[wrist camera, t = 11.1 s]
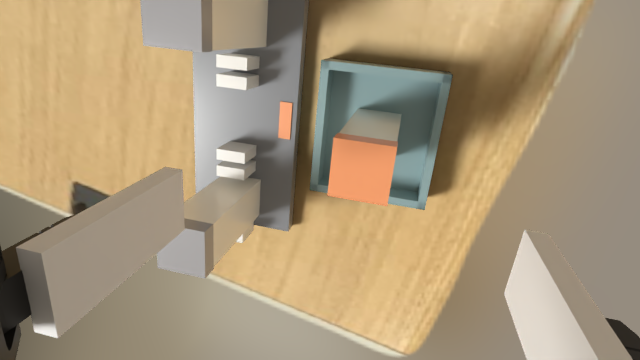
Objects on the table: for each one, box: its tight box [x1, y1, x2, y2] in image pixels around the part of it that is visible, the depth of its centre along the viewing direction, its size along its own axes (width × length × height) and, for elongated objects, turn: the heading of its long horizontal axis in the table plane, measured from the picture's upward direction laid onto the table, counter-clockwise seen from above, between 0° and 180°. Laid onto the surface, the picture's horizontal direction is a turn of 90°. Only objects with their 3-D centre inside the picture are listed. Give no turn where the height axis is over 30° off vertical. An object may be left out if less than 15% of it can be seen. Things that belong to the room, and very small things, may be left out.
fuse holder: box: [193, 0, 309, 243], centre depth 32 cm, size 21×9×4 cm, turn 174°
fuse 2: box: [157, 176, 261, 278], centre depth 31 cm, size 4×4×10 cm
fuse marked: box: [327, 108, 402, 206], centre depth 27 cm, size 4×4×10 cm
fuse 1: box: [140, 0, 268, 52], centre depth 25 cm, size 4×4×10 cm
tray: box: [310, 58, 453, 210], centre depth 31 cm, size 10×9×2 cm
